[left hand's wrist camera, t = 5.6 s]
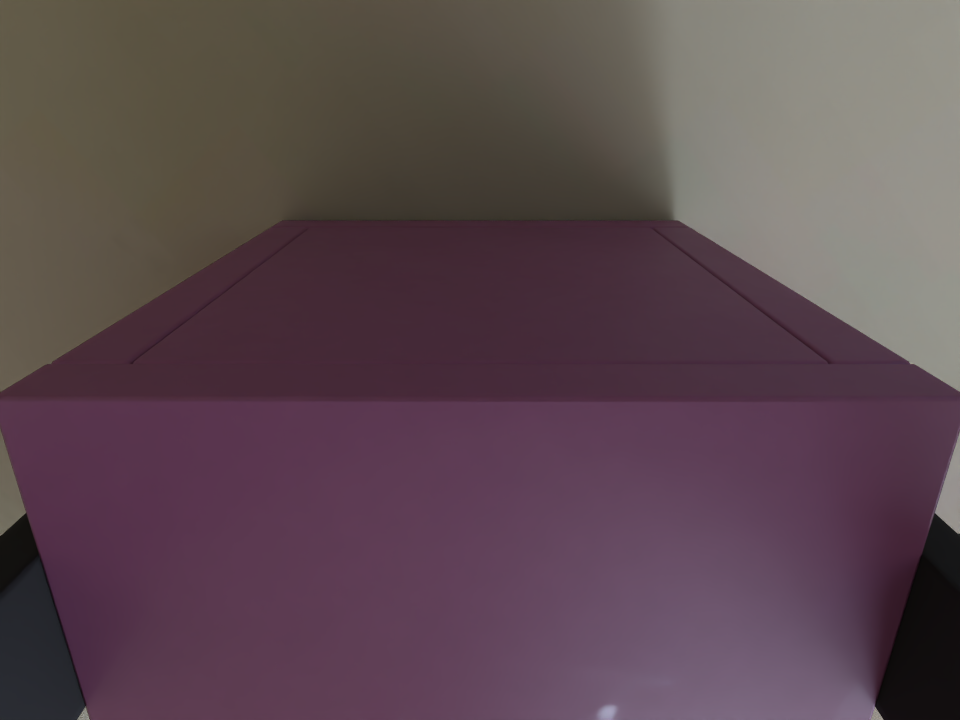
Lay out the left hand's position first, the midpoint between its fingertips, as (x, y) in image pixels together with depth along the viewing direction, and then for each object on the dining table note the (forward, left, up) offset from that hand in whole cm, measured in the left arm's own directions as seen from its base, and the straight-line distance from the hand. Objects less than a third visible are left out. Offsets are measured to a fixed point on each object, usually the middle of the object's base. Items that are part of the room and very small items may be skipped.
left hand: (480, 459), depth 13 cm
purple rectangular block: (+6, -3, -7) cm, 10 cm away
